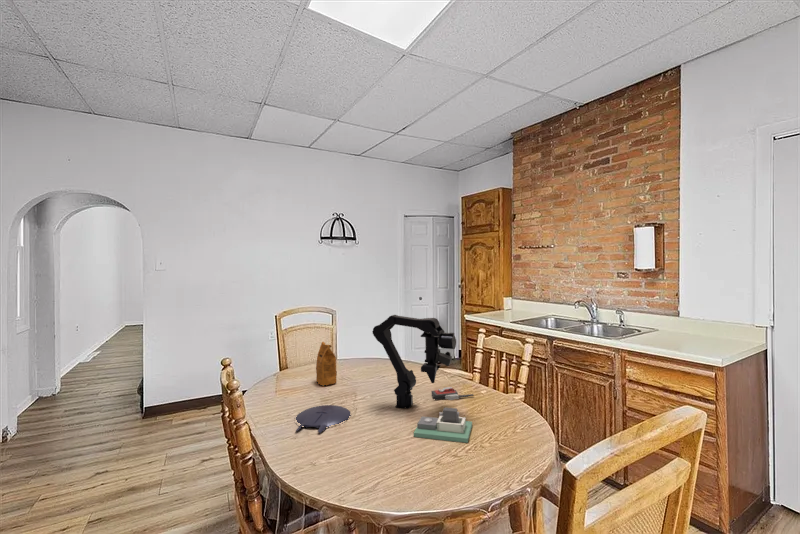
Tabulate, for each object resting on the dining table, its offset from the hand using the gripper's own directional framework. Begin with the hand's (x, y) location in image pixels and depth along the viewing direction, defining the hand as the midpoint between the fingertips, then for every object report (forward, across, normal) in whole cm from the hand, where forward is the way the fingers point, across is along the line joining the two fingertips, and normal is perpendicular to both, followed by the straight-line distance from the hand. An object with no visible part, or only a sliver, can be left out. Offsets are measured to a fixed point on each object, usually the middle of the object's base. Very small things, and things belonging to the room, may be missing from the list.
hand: (432, 382), depth 166 cm
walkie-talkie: (+13, +18, -5) cm, 23 cm away
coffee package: (+12, +24, +65) cm, 70 cm away
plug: (+10, -19, -11) cm, 24 cm away
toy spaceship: (+13, -20, +44) cm, 50 cm away
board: (+12, -19, -8) cm, 24 cm away
